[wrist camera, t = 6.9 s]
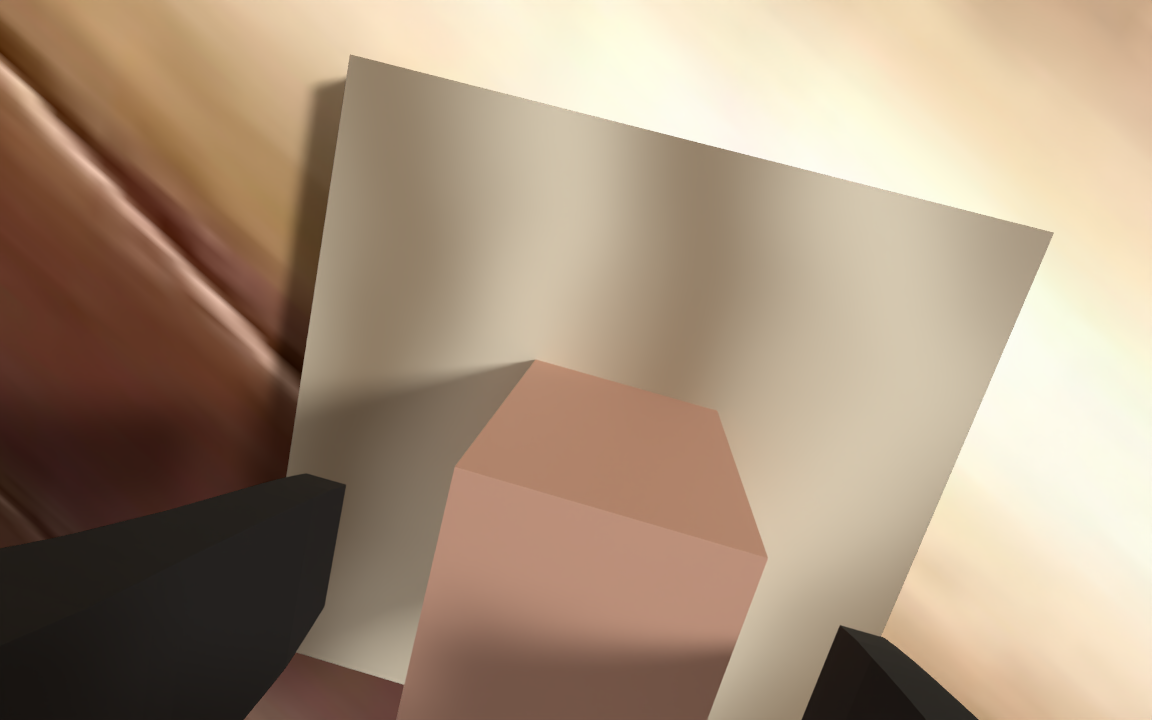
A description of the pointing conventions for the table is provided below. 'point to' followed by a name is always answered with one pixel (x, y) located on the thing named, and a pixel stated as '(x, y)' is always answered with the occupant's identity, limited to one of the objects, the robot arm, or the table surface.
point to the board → (639, 347)
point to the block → (586, 561)
